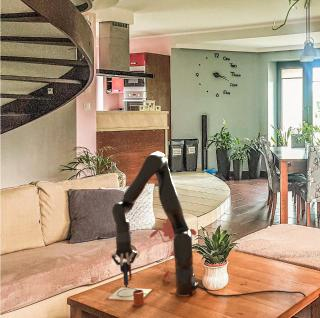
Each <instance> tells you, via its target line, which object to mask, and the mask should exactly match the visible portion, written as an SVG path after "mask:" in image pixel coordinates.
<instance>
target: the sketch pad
mask: <svg viewBox="0 0 320 318" xmlns="http://www.w3.org/2000/svg"><path fill="white" fill-rule="evenodd" d="M138 289H141V290H143V294H144V298H145V297H147V295H148V294H149V293H150V292H151V291H152V290H153V289H152V288H138V287H127V288H126V287H125V286H124V287H122V286H121V287H120V288H119V289H117V290H116V291H114V292H113V293H112V294H111V295H110V296H109V297H107V299H109V300H121V301H122V300H125V301H134V297H133V291H135V290H138Z"/></svg>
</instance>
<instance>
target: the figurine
mask: <svg viewBox="0 0 320 318" xmlns="http://www.w3.org/2000/svg"><path fill="white" fill-rule="evenodd" d="M189 230H190V232H191V234H192V236H196V235H197V231H196V229H193V228H190V229H189ZM161 233H163V236H162V234H161ZM157 234H159V237H160V238H161V240H162V243H168V242H171V241H174V233H173V229H172V225H171V223H170V221H169V219H168V217H166V219H165V222H162V228H161V230H160V229H159V228H157V229H155V230H154V231H153V232H151V234H150V235H149V239H152V238H153V237H155V236H156V235H157ZM164 237H165V238H167V237H168V239H169V240H164ZM170 253H171V254H170V256H169V257H167V258H166V260H165V267H166V269H168V262H167V261H168V260H169V259H170V257H174V248H173V249H172V251H171V252H170ZM170 273H171V272H170V270H166V272H165V273H162V274H161V276H162V275H163V278H162V279H163V280H166V278H167V281H168V283H171V282H170V281H171V280H170ZM159 277H160V275H158V276H157V278H159Z"/></svg>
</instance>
